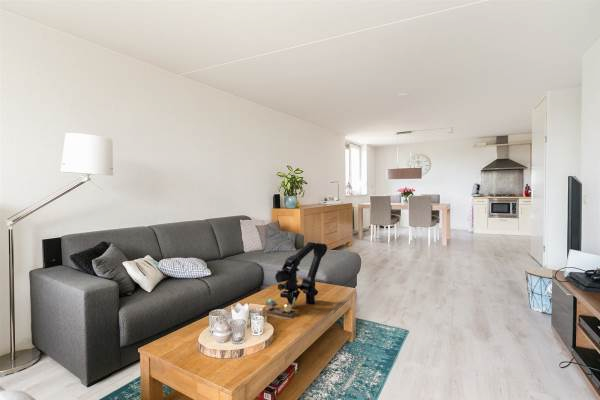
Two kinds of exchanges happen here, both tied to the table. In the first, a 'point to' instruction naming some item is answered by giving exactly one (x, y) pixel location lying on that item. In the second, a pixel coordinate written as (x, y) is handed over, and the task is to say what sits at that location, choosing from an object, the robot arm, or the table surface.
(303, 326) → the table surface
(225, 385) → the table surface
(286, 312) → the cylinder
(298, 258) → the robot arm
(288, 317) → the brown compartment tray
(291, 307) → the cylinder
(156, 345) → the table surface
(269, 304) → the button housing
